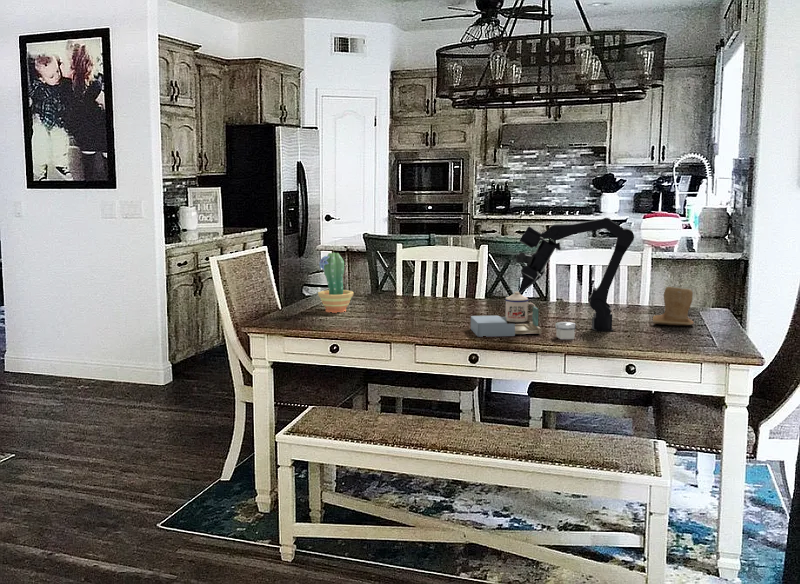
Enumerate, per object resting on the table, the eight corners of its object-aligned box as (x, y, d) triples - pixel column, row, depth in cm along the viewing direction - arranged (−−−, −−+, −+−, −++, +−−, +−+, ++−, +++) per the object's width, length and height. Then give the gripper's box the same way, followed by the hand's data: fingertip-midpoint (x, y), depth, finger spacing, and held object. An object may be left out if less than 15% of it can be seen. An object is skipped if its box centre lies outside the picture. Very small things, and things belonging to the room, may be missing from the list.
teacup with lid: (504, 322, 309) (505, 293, 307) (504, 318, 318) (505, 289, 316) (535, 323, 307) (536, 293, 306) (534, 318, 316) (535, 290, 314)
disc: (572, 326, 283) (572, 321, 283) (578, 329, 276) (578, 325, 276) (553, 326, 282) (553, 321, 282) (558, 330, 276) (558, 325, 275)
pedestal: (569, 336, 283) (570, 326, 282) (574, 339, 278) (574, 329, 277) (556, 336, 282) (556, 326, 282) (560, 339, 277) (560, 329, 277)
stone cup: (692, 322, 308) (694, 285, 305) (694, 328, 296) (696, 289, 294) (651, 320, 312) (653, 283, 310) (652, 326, 301) (654, 287, 298)
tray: (531, 326, 297) (532, 304, 296) (540, 333, 284) (541, 310, 283) (496, 327, 296) (496, 305, 295) (504, 334, 283) (504, 311, 282)
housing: (505, 328, 297) (506, 315, 296) (514, 335, 283) (515, 322, 282) (470, 329, 296) (470, 316, 295) (477, 336, 282) (478, 323, 281)
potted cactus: (321, 307, 344) (320, 250, 340) (356, 308, 342) (355, 251, 338) (314, 313, 328) (313, 254, 325) (350, 314, 327) (350, 254, 323)
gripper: (528, 242, 306) (509, 277, 310) (519, 245, 288) (499, 281, 292) (553, 257, 303) (533, 291, 307) (546, 260, 285) (525, 296, 289)
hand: (522, 289), depth 299 cm, fingers open, 9 cm apart
